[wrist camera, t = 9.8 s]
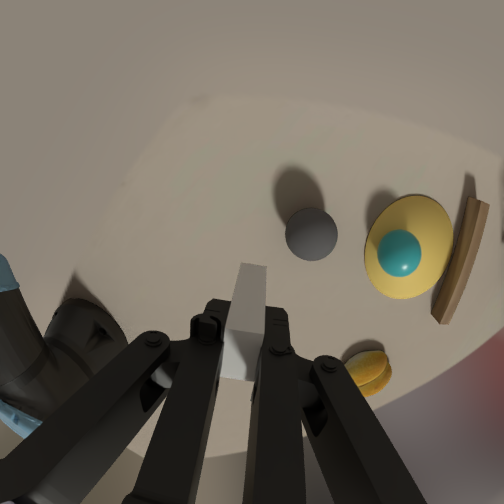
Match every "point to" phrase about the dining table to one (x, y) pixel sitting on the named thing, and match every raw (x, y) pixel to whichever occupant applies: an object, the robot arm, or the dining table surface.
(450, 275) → the wall
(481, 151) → the dining table surface
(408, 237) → the ball
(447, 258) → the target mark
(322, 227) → the ball
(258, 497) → the robot arm
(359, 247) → the dining table surface
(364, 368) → the bread roll
